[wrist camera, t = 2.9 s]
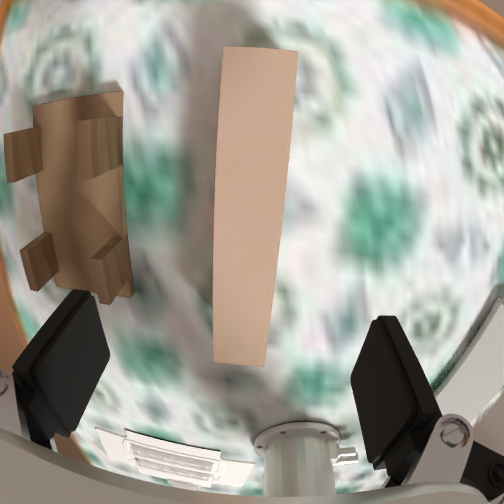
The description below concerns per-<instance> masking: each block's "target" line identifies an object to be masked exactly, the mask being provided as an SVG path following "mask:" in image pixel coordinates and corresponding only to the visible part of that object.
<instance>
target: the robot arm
mask: <svg viewBox="0 0 504 504" xmlns="http://www.w3.org/2000/svg"><path fill="white" fill-rule="evenodd" d="M109 358H110V351H109V348H108V345H107V341H106V338H105V335H104V331H103V328H102V324H101V320H100V317H99V313H98V309H97V305H96V301H95V298H94V296H91V293H90V292H89V291H86V290H80V289H73V290H72V291H71V292H70V293H69V294H68V295H67V297H66V298H65V299H64V300H63V301H62V303H61V304H60V305H59V306H58V307H57V309H56V310H55V311H54V312H53V313H52V315H51V316H50V317H49V318H48V320H47V321H46V322H45V323H44V325H43V326H42V327H41V328H40V330H39V331H38V332H37V334H36V335H35V336H34V338H33V339H32V340H31V341H30V343H29V344H28V345H27V347H26V348H25V349H24V351H23V352H22V354H21V355H20V356H19V358H18V359H17V360H16V362H15V364H14V365H13V366H12V368H13V369H14V371H13V373H12V374H11V373H10V371H8V370H6V369H3V368H0V504H504V456H502V455H500V454H498V453H496V452H494V451H492V450H490V449H489V448H487V447H485V446H483V445H481V444H479V443H477V442H475V441H474V440H473V439H474V432H473V428H472V426H471V424H470V423H469V422H468V421H467V420H466V419H465V418H464V417H462V416H460V415H457V414H446V415H443V416H442V413H441V411H440V408H439V406H438V403H437V401H436V399H435V396H434V394H433V392H432V389H431V387H430V385H429V383H428V380H427V378H426V376H425V374H424V371H423V369H422V367H421V365H420V363H419V361H418V359H417V357H416V355H415V353H414V351H413V349H412V347H411V345H410V343H409V341H408V339H407V337H406V335H405V333H404V331H403V329H402V327H401V325H400V323H399V321H398V319H397V317H396V316H378V317H377V319H376V320H373V321H372V323H371V325H370V328H369V331H368V333H367V336H366V339H365V341H364V344H363V346H362V349H361V352H360V354H359V357H358V359H357V361H356V364H355V366H354V369H353V371H352V374H351V386H352V390H353V394H354V399H355V403H356V407H357V412H358V416H359V421H360V425H361V430H362V435H363V440H364V444H365V449H366V454H367V459H368V462H369V463H373V468H374V470H379V469H385V468H386V470H387V474H388V477H387V479H386V480H385V482H384V484H383V485H382V487H381V488H380V489H377V490H370V491H363V492H355V493H346V494H336V490H335V481H334V473H333V467H337V465H338V464H355V463H357V461H358V454H357V452H355V447H349V448H341V449H340V447H338V446H339V444H340V435H339V432H338V431H337V430H336V429H335V428H333V427H331V426H329V425H326V424H322V423H317V422H294V423H287V424H282V425H278V426H275V427H272V428H269V429H267V430H265V431H263V432H262V433H261V434H259V435H258V436H257V437H256V439H255V442H254V450H255V452H256V454H257V455H258V456H260V457H261V458H263V459H265V461H264V497H258V496H240V495H227V494H217V493H209V492H201V491H194V490H188V489H182V488H176V487H171V486H165V485H161V484H156V483H151V482H147V481H143V480H139V479H135V478H131V477H127V476H124V475H120V474H117V473H113V472H110V471H107V470H103V469H100V468H97V467H94V466H91V465H88V464H86V463H83V462H80V461H77V460H75V459H72V458H69V457H67V456H65V455H62V454H59V453H58V451H57V448H56V445H55V442H54V438H53V437H54V434H55V432H56V433H58V434H60V435H63V436H65V437H68V438H69V436H70V434H71V431H72V432H73V431H75V430H76V428H77V426H78V424H79V422H80V419H81V417H82V415H83V413H84V411H85V409H86V406H87V404H88V402H89V400H90V398H91V396H92V394H93V392H94V390H95V387H96V385H97V383H98V381H99V379H100V377H101V375H102V373H103V371H104V369H105V367H106V365H107V363H108V361H109Z"/></svg>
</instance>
